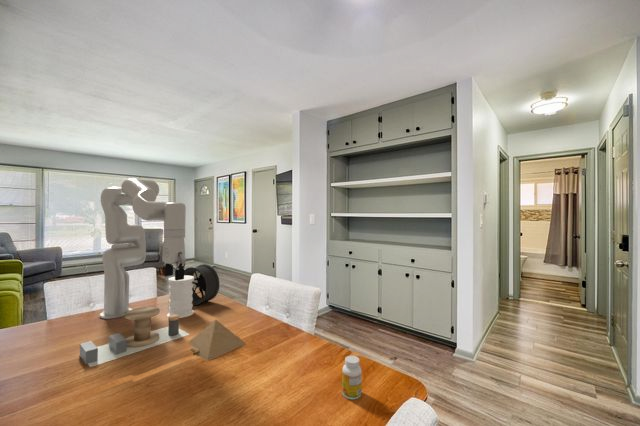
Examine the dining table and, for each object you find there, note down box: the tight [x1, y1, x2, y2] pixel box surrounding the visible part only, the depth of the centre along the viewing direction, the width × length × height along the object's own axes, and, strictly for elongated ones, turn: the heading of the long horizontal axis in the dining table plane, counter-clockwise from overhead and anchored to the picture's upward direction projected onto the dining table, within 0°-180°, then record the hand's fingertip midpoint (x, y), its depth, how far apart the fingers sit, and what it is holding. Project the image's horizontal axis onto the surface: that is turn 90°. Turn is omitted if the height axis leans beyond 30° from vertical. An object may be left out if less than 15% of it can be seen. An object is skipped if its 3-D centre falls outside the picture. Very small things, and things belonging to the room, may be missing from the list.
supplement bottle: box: [341, 355, 363, 400], centre depth 79 cm, size 5×5×10 cm
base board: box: [87, 326, 190, 368], centre depth 103 cm, size 14×31×1 cm, turn 141°
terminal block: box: [79, 332, 127, 365], centre depth 95 cm, size 8×11×4 cm
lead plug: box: [167, 315, 180, 336], centre depth 111 cm, size 4×4×7 cm
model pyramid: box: [187, 319, 247, 362], centre depth 105 cm, size 17×17×10 cm
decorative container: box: [166, 275, 195, 319], centre depth 133 cm, size 12×12×18 cm
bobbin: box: [124, 306, 161, 348], centre depth 105 cm, size 11×11×11 cm
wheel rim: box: [184, 263, 220, 306], centre depth 152 cm, size 20×9×20 cm, turn 67°
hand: (173, 277), depth 110 cm, fingers open, 9 cm apart
